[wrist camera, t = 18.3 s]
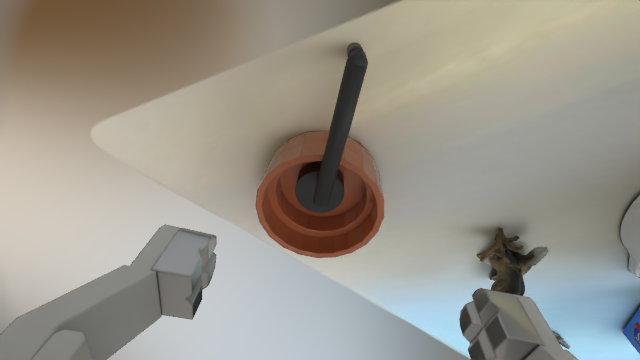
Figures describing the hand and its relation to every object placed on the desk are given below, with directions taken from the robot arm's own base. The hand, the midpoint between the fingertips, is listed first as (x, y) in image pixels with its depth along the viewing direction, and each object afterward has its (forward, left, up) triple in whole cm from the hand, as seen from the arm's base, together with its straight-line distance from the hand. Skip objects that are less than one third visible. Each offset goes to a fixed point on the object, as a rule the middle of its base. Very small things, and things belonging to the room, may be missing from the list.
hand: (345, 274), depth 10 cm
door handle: (0, +4, -21) cm, 21 cm away
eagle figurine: (-22, +15, -21) cm, 34 cm away
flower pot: (0, +10, -21) cm, 23 cm away
